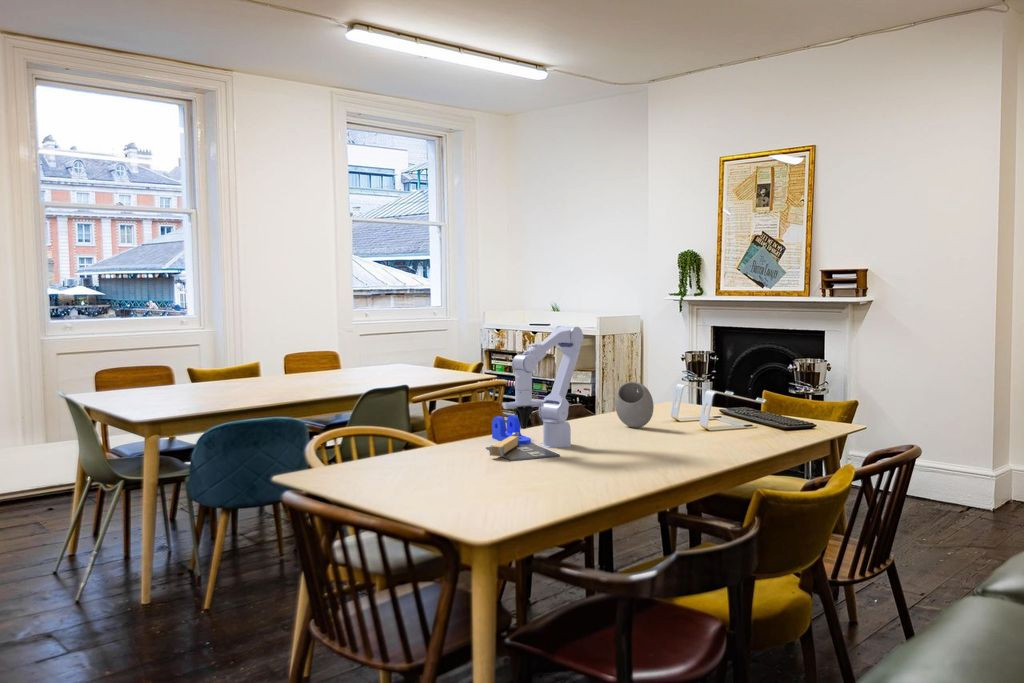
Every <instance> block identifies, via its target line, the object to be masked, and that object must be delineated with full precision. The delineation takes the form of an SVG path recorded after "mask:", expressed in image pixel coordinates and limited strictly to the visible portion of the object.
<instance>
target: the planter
mask: <svg viewBox="0 0 1024 683" xmlns="http://www.w3.org/2000/svg"><path fill="white" fill-rule="evenodd" d="M614 407H615V408H614V409H615V412H616V414H617V417H618V418H619V420H620V421H621V422H622V423H623V424H624V425H626V426H627V427H629V428H633V429H639V428H642V427H644V426H646V425H647V424H648V423H649V422H650V421H651V420H652V418H653V413H654V400H653V397H652V394H651V392H650V391H649V389H648V388H647V387H646V386H645V385H644V384H643V383H640V382H638V381H627V382H625V383H623V384H622V385H621V386H619V387H618V389H617V392H616V395H615V398H614Z"/></svg>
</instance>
